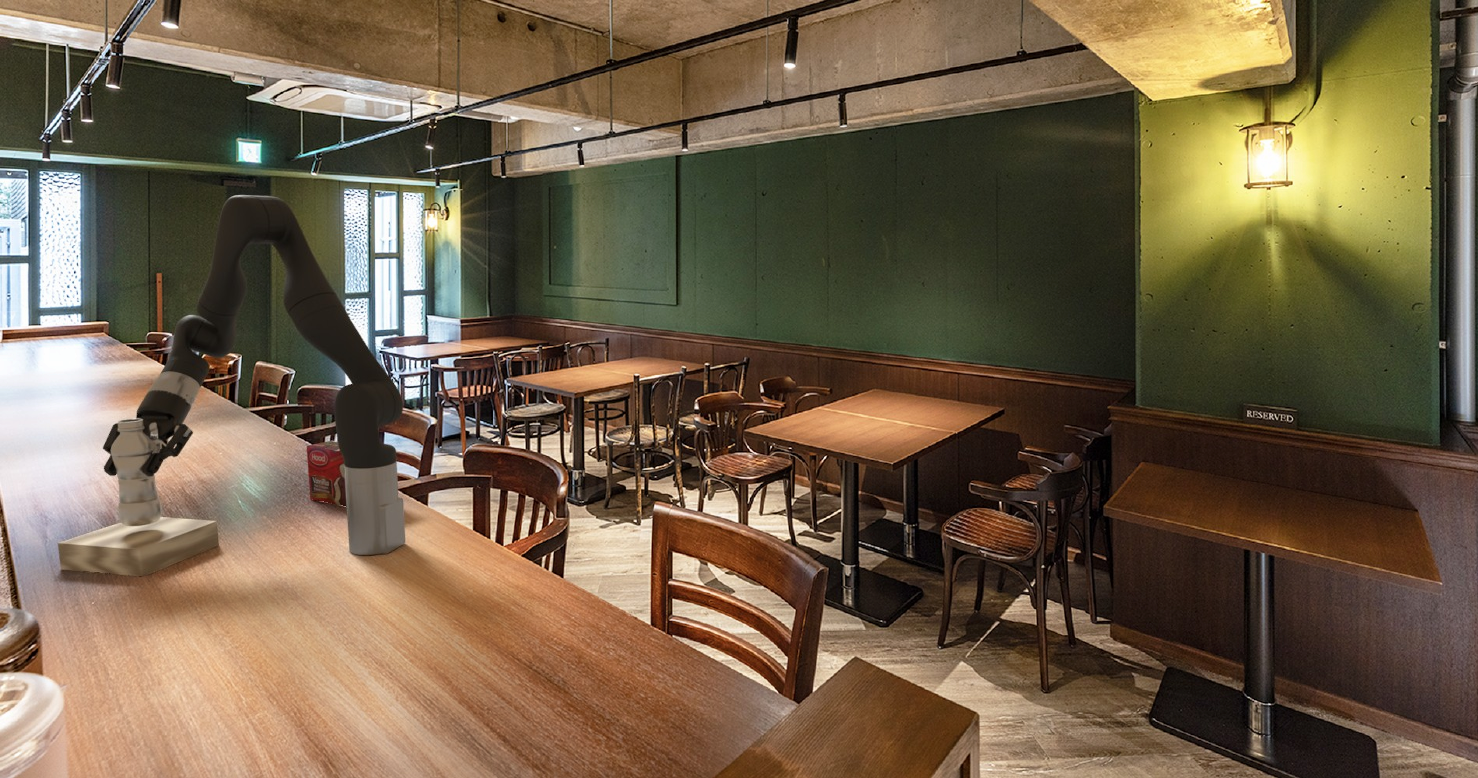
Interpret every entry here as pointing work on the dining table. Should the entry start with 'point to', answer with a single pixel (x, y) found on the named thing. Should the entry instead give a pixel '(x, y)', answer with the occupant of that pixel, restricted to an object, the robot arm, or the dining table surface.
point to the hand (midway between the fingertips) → (128, 473)
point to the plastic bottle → (135, 475)
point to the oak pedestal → (138, 546)
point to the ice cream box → (326, 473)
